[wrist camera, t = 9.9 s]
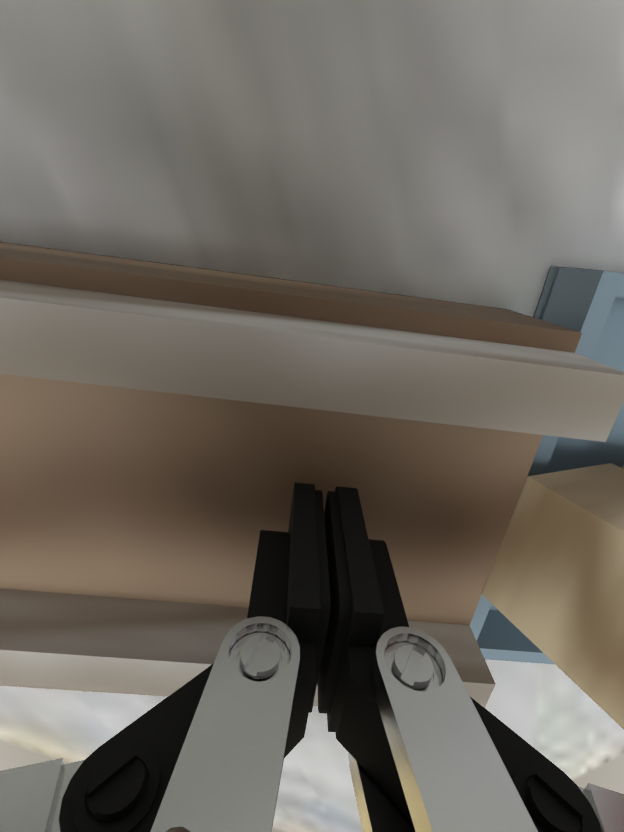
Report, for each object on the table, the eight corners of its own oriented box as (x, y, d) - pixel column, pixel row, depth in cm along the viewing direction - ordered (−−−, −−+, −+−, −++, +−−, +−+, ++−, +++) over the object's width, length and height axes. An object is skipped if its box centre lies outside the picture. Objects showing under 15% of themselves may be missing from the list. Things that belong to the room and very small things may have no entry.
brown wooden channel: (-196, 216, 12) (-613, 190, 7) (507, 309, 14) (645, 352, 8) (-94, 535, 17) (-290, 678, 11) (423, 580, 18) (476, 726, 13)
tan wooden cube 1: (527, 476, 12) (721, 588, 8) (611, 462, 14) (795, 547, 10) (481, 594, 13) (626, 731, 10) (562, 566, 15) (707, 671, 12)
